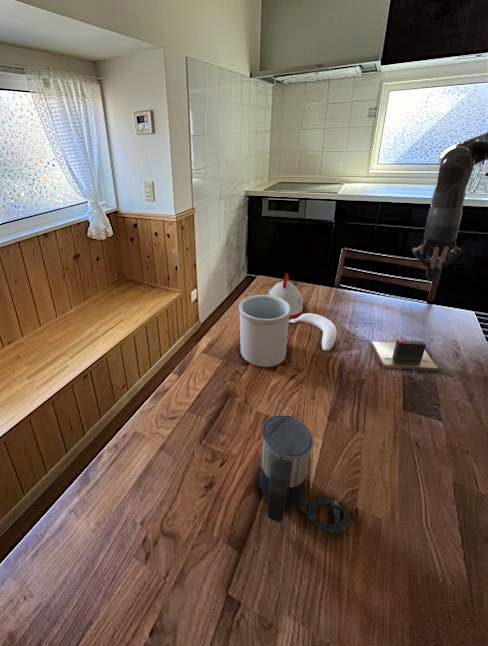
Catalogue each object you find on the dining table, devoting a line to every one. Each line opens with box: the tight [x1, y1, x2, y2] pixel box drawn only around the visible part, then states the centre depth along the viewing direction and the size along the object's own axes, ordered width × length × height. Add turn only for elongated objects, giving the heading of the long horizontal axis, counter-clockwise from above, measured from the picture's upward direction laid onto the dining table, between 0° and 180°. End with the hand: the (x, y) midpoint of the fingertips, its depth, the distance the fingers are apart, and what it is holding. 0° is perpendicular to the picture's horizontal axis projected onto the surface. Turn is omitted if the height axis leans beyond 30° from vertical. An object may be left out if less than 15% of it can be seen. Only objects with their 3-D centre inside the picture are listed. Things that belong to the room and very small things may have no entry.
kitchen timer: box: [266, 272, 304, 320], centre depth 126 cm, size 14×14×15 cm
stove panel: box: [370, 341, 439, 373], centre depth 99 cm, size 14×14×2 cm
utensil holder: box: [238, 294, 290, 368], centre depth 102 cm, size 15×15×18 cm
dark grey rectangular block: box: [393, 339, 427, 362], centre depth 96 cm, size 7×2×6 cm, turn 80°
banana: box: [289, 312, 338, 352], centre depth 113 cm, size 5×19×15 cm
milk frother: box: [259, 414, 352, 535], centre depth 62 cm, size 14×16×15 cm
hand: (430, 278), depth 100 cm, fingers closed
